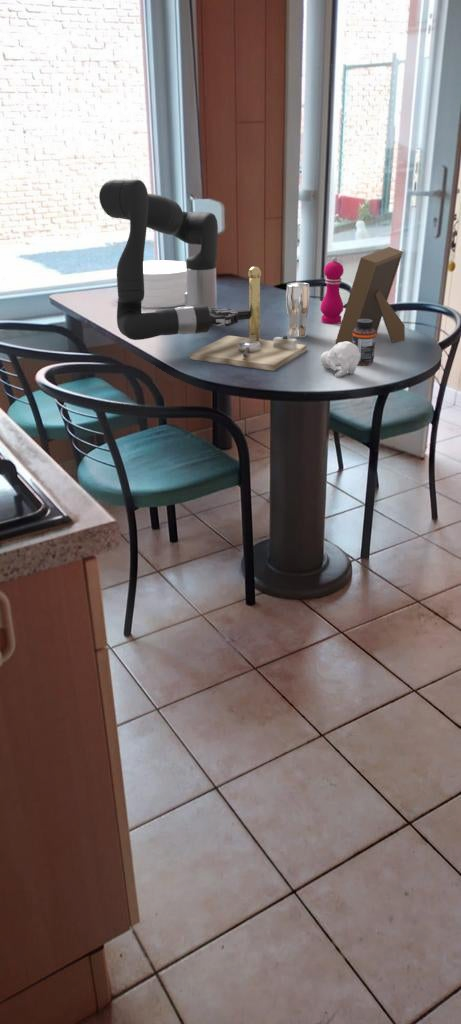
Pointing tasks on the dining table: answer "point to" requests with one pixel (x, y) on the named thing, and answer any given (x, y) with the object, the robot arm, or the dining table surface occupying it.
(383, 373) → the dining table surface
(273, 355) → the stand
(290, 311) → the beer glass
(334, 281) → the pepper mill
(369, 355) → the supplement bottle
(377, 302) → the photo frame
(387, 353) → the dining table surface
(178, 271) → the plate stack
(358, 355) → the white animal figurine
